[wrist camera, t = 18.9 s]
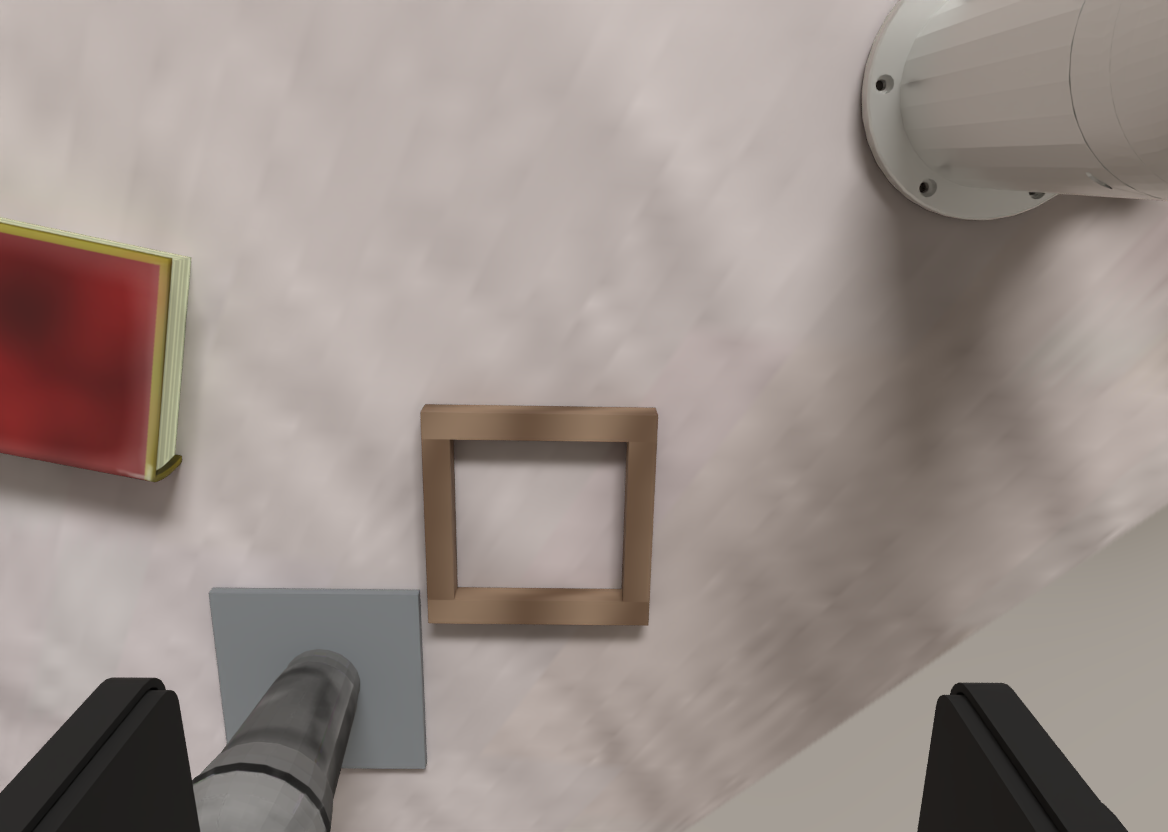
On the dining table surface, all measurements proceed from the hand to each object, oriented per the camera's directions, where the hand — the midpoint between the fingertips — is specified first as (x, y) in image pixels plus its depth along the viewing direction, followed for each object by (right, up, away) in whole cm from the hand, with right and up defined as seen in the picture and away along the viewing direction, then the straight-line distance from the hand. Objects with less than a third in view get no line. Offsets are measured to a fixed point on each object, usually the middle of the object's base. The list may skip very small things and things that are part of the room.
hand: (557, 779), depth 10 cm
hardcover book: (-31, +10, +35) cm, 48 cm away
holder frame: (-2, -1, +38) cm, 38 cm away
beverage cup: (-15, -11, +40) cm, 44 cm away
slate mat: (-15, -11, +41) cm, 45 cm away
